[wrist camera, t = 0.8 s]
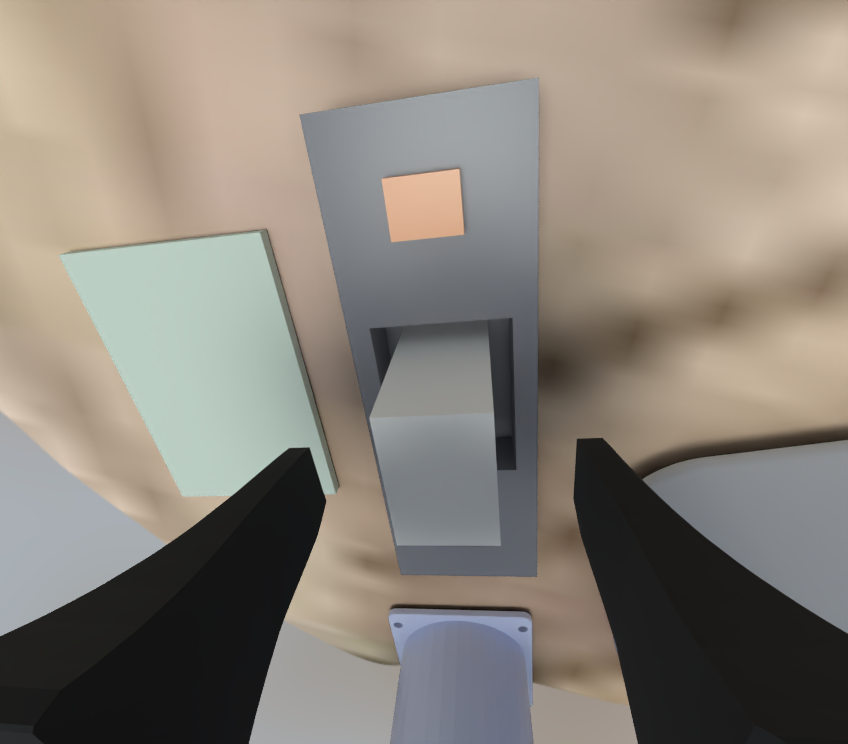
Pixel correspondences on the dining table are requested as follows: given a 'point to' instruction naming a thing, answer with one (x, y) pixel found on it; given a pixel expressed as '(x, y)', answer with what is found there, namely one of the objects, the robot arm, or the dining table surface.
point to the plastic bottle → (773, 517)
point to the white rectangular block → (439, 437)
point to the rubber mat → (205, 354)
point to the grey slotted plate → (443, 267)
